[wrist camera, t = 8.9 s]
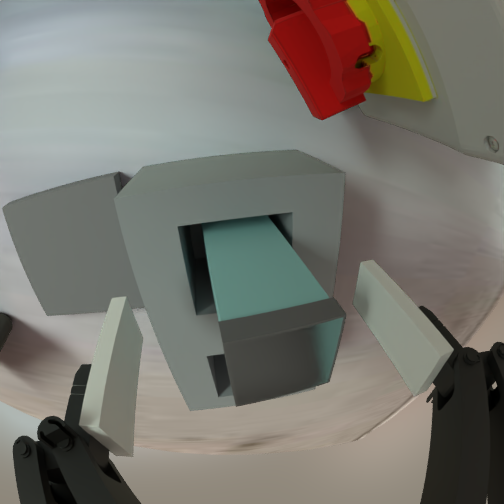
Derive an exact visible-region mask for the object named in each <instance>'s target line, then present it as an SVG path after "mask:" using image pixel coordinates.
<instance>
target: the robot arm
mask: <svg viewBox="0 0 504 504" xmlns="http://www.w3.org/2000/svg"><path fill="white" fill-rule="evenodd" d="M353 305H354V307H355V308H356V310H357V311H358V312H359V314H360V315H361V317H362V318H363V320H364V321H365V322H366V324H367V325H368V327H369V328H370V330H371V331H372V333H373V334H374V336H375V337H376V339H377V340H378V342H379V343H380V345H381V346H382V348H383V349H384V351H385V352H386V354H387V355H388V357H389V358H390V360H391V361H392V363H393V364H394V366H395V367H396V369H397V370H398V372H399V374H400V375H401V377H402V378H403V380H404V381H405V383H406V385H407V386H408V388H409V389H410V391H411V393H412V394H413V396H414V397H415V396H417V395H419V394H421V393H423V392H425V391H427V389H428V388H429V387H430V385H431V384H432V383H433V384H434V385H435V386H436V387H435V389H434V390H433V391H432V393H431V394H430V395H429V397H428V398H427V401H426V402H427V403H428V402H429V401H430V400H431V398H432V397H433V400H432V402H431V403H433V413H432V430H431V441H430V451H429V459H428V466H427V472H426V478H425V483H424V489H423V493H422V498H421V502H420V504H486V498H488V504H504V343H502V342H496V343H495V344H494V345H493V346H492V348H491V349H490V351H486V352H481V353H478V352H477V351H476V350H474V349H473V348H470V347H464V348H463V347H462V346H461V345H460V344H459V343H458V341H457V340H456V339H455V338H454V337H453V336H452V334H451V333H450V332H449V331H448V330H447V329H446V327H445V326H443V324H442V323H441V322H440V321H439V320H438V318H437V317H436V316H435V315H434V314H433V313H432V312H431V311H430V310H428V309H427V308H425V307H423V306H420V307H417V306H416V304H415V303H414V302H413V301H412V300H411V299H410V298H409V297H408V296H407V295H406V294H405V292H404V291H403V290H402V289H401V288H400V287H399V286H398V285H397V284H396V283H395V282H394V281H393V280H392V279H391V278H390V277H389V276H388V275H387V273H386V272H385V271H384V270H383V269H382V268H381V267H380V266H379V265H378V264H377V263H376V262H375V261H374V260H368V261H363V262H360V268H359V274H358V279H357V284H356V290H355V295H354V299H353ZM142 343H143V336H142V334H141V331H140V329H139V327H138V324H137V322H136V319H135V317H134V315H133V312H132V310H131V307H130V304H129V302H128V299H127V297H126V296H125V297H116V298H112V299H111V302H110V305H109V308H108V311H107V314H106V317H105V320H104V323H103V327H102V330H101V333H100V337H99V340H98V344H97V347H96V351H95V354H94V358H93V362H92V364H82V365H81V367H80V368H79V370H78V371H77V373H76V374H75V378H74V382H73V387H72V389H71V395H70V397H69V402H68V406H67V411H66V415H65V420H64V421H63V420H62V419H60V418H59V417H56V416H50V417H46V418H45V419H44V420H43V421H42V422H41V423H40V425H39V426H38V431H37V435H38V439H39V440H40V441H36V442H35V441H34V440H33V439H31V438H30V437H28V436H21V437H19V438H18V439H17V440H16V441H15V443H14V445H13V459H14V468H15V476H16V482H17V488H18V494H19V499H20V503H21V504H141V503H140V501H139V500H138V499H137V498H136V496H135V495H134V494H133V492H132V491H131V489H130V488H129V486H128V485H127V484H126V482H125V481H124V479H123V478H122V476H121V475H120V473H119V472H118V470H117V469H116V467H115V465H114V464H113V462H112V461H111V460H110V459H109V451H110V452H112V453H113V454H114V455H116V456H130V457H133V446H134V423H135V408H136V396H137V385H138V375H139V366H140V358H141V350H142ZM495 381H496V383H497V387H496V388H495V389H493V388H492V384H494V382H495Z"/></svg>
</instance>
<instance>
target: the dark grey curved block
mask: <svg viewBox="0 0 504 504" xmlns="http://www.w3.org/2000/svg"><path fill="white" fill-rule="evenodd" d="M11 330H12V321H11V319H10V318H9V317H8V316H6V315H5V314H2V313H0V351H1V349H2V347H3V345H4V343H5V341H6V339H7V337H8V335H9V333H10V332H11Z"/></svg>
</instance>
